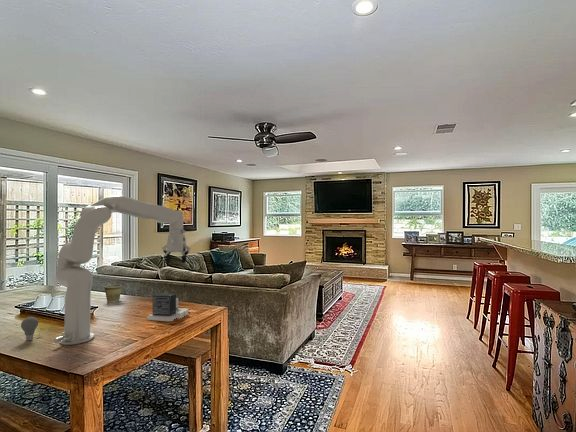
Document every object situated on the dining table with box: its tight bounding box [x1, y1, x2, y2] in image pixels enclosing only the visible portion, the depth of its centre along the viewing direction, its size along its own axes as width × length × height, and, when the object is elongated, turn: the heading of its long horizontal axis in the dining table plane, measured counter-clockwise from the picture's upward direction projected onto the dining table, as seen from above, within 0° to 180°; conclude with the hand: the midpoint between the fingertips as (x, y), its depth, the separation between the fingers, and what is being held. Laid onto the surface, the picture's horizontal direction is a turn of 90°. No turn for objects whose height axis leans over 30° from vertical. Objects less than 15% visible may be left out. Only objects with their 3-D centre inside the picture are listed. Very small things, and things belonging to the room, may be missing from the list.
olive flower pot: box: [104, 283, 123, 304], centre depth 211 cm, size 13×10×10 cm
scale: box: [146, 307, 190, 322], centre depth 178 cm, size 18×17×3 cm
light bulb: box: [20, 316, 39, 341], centre depth 142 cm, size 6×6×10 cm
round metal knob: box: [176, 297, 179, 310], centre depth 184 cm, size 4×4×6 cm
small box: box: [152, 292, 177, 316], centre depth 175 cm, size 11×6×10 cm, turn 81°
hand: (176, 262), depth 186 cm, fingers open, 9 cm apart
